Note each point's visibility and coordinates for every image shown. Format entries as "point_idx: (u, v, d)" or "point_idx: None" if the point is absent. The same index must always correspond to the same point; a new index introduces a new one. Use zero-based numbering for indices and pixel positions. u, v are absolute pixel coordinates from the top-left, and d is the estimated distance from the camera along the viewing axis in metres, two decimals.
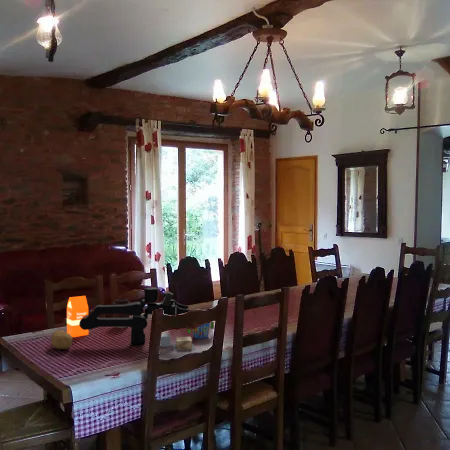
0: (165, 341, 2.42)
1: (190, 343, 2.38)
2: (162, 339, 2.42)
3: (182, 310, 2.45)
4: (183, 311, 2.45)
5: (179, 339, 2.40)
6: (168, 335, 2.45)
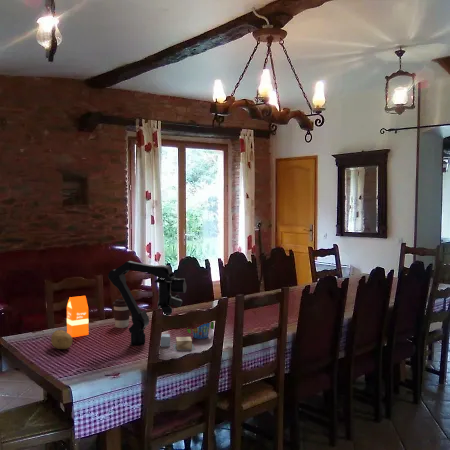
0: (165, 341, 2.42)
1: (190, 343, 2.38)
2: (162, 339, 2.42)
3: None
4: None
5: (179, 339, 2.40)
6: (168, 335, 2.45)
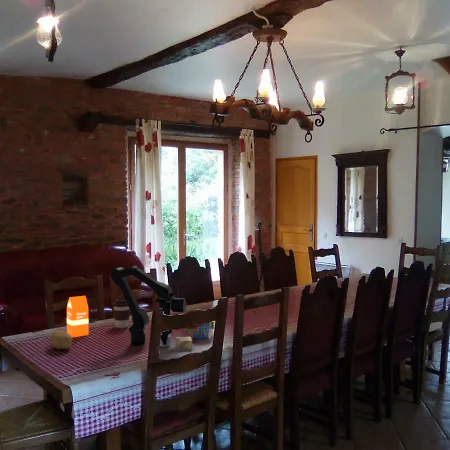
0: None
1: (190, 343, 2.38)
2: None
3: (166, 337, 2.41)
4: (164, 338, 2.41)
5: (179, 339, 2.40)
6: (168, 335, 2.45)
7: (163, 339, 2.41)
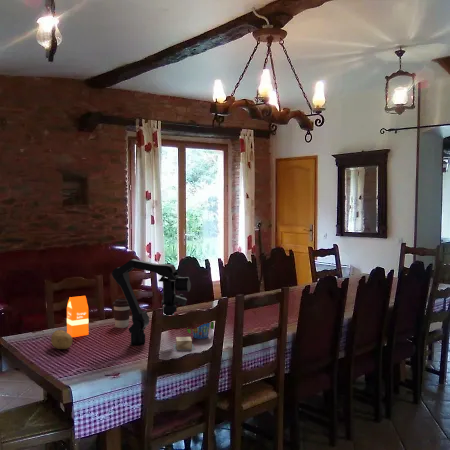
0: None
1: (190, 343, 2.38)
2: None
3: None
4: None
5: (179, 339, 2.40)
6: (173, 314, 2.44)
7: None
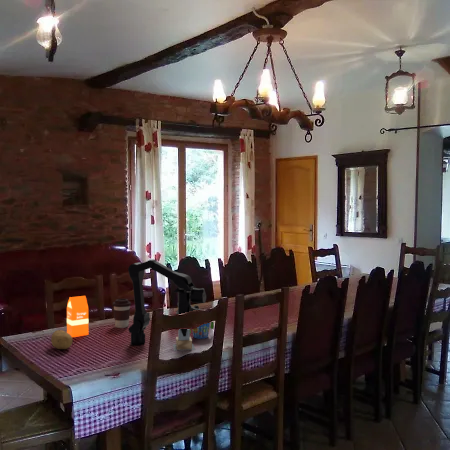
0: None
1: (190, 343, 2.38)
2: None
3: (185, 329, 2.36)
4: (184, 330, 2.36)
5: None
6: None
7: (183, 330, 2.36)
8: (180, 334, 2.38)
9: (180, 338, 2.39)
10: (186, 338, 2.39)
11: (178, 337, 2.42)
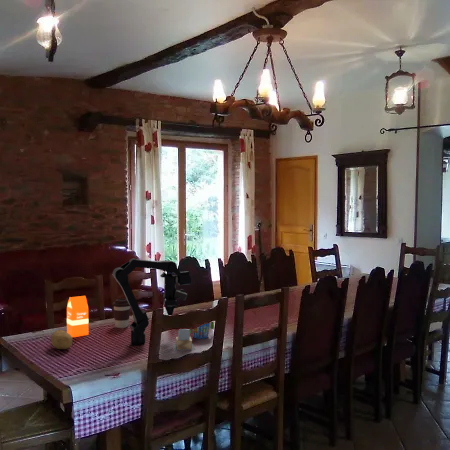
0: (185, 334, 2.39)
1: (190, 343, 2.38)
2: (182, 332, 2.39)
3: (171, 311, 2.48)
4: (170, 312, 2.48)
5: None
6: None
7: (169, 313, 2.48)
8: (180, 334, 2.38)
9: (180, 338, 2.39)
10: (186, 338, 2.39)
11: (178, 337, 2.42)
